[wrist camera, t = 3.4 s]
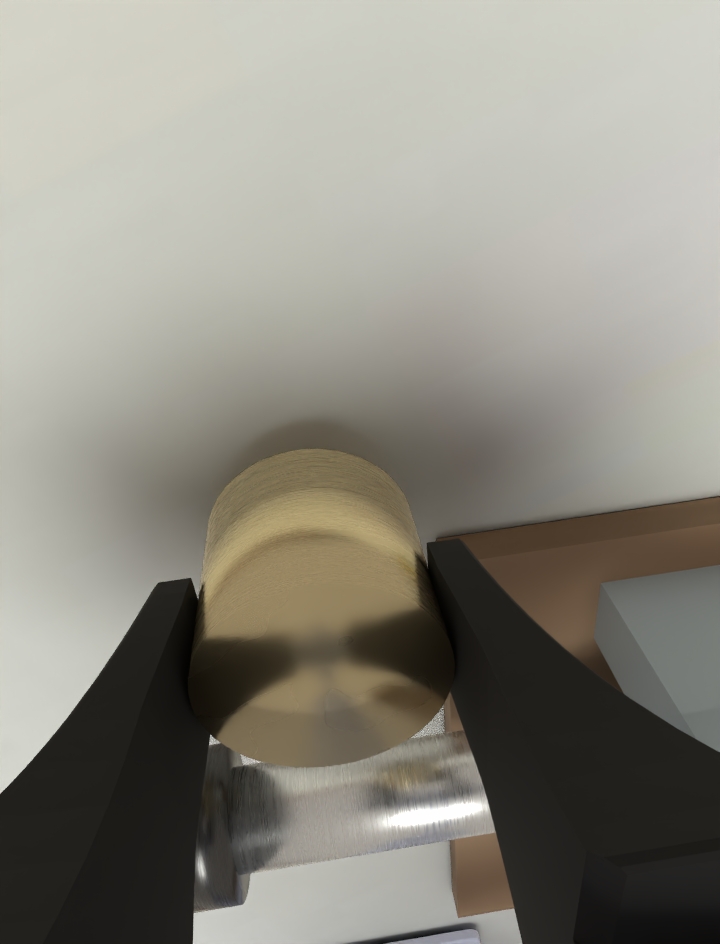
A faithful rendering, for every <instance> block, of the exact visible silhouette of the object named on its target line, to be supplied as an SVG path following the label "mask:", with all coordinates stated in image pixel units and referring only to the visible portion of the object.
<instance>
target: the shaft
mask: <svg viewBox="0 0 720 944" xmlns="http://www.w3.org/2000/svg"><path fill="white" fill-rule="evenodd" d="M490 833H496V831H495V827H494V824H493V820H492V816H491V812H490V808H489V804H488V800H487V796H486V793H485V790H484V787H483V783H482V780H481V777H480V774H479V771H478V768H477V765H476V763H475V760H474V757H473V754H472V751H471V749H470V746H469V743H468V740H467V737H466V734H465V732H464V730H460V731H454V732H448V733H441V734H435V735H429V736H423V737H417V738H410V739H408V740H406V741H404V742H403V743H401V744H399V745H398V746H396V747H394V748H391V749H389V750H387V751H385V752H383V753H380V754H378V755H375V756H373V757H370V758H366V759H363V760H360V761H356V762H352V763H347V764H342V765H335V766H327V767H309V768H307V767H289V766H281V765H275V764H270V763H266V762H261V763H255V764H248V765H243V763H242V759H241V755H240V753H237V752H235V751H233V750H232V749H230V748H228V747H226V746H225V745H223V744H222V743H220V744H214V745H209V748H208V755H207V762H206V769H205V777H204V784H203V791H202V798H201V806H200V813H199V820H198V831H197V841H196V858H195V883H194V912H193V913H196V912H202V911H208V910H214V909H220V908H226V907H232V906H238V905H242V904H243V903H244V902H245V900H246V897H247V893H248V888H249V881H250V874H251V873H257V872H263V871H269V870H275V869H281V868H287V867H293V866H299V865H305V864H311V863H317V862H323V861H329V860H335V859H340V858H346V857H352V856H358V855H364V854H370V853H376V852H382V851H388V850H394V849H400V848H406V847H412V846H418V845H424V844H430V843H436V842H442V841H448V840H454V839H460V838H466V837H472V836H478V835H484V834H490Z"/></svg>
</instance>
